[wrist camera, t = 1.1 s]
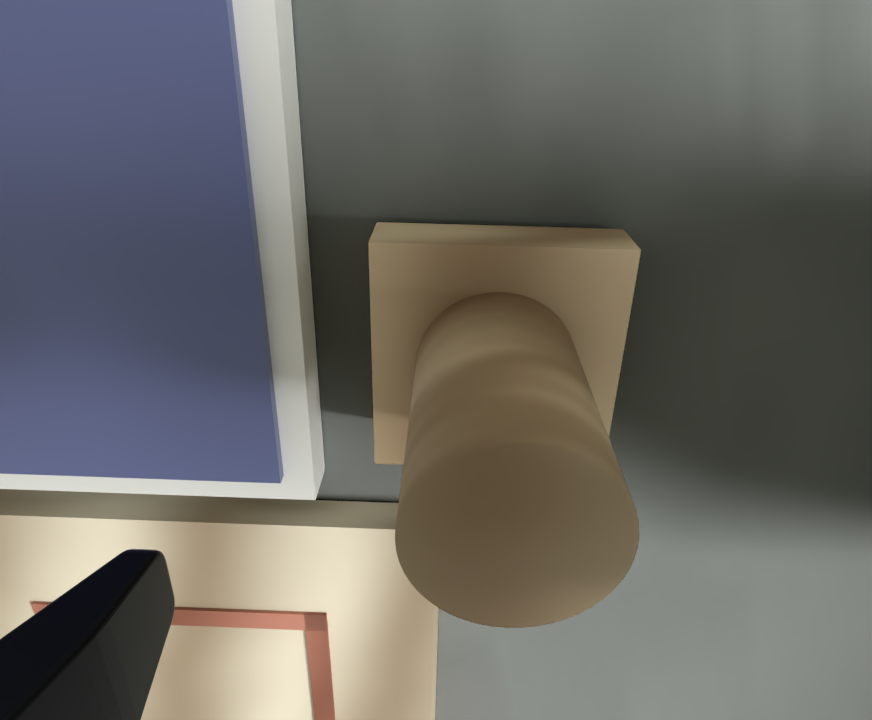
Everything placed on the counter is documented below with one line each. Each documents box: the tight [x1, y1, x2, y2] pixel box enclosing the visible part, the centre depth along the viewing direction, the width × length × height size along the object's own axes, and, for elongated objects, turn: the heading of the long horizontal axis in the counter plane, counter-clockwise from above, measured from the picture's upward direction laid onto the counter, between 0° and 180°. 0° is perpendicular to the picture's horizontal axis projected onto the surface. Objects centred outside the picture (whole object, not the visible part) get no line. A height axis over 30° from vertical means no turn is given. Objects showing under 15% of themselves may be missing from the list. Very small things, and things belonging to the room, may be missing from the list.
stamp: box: [368, 222, 641, 628], centre depth 11 cm, size 5×5×7 cm
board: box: [0, 489, 438, 720], centre depth 20 cm, size 14×14×1 cm
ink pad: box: [0, 0, 325, 500], centre depth 13 cm, size 10×12×2 cm
